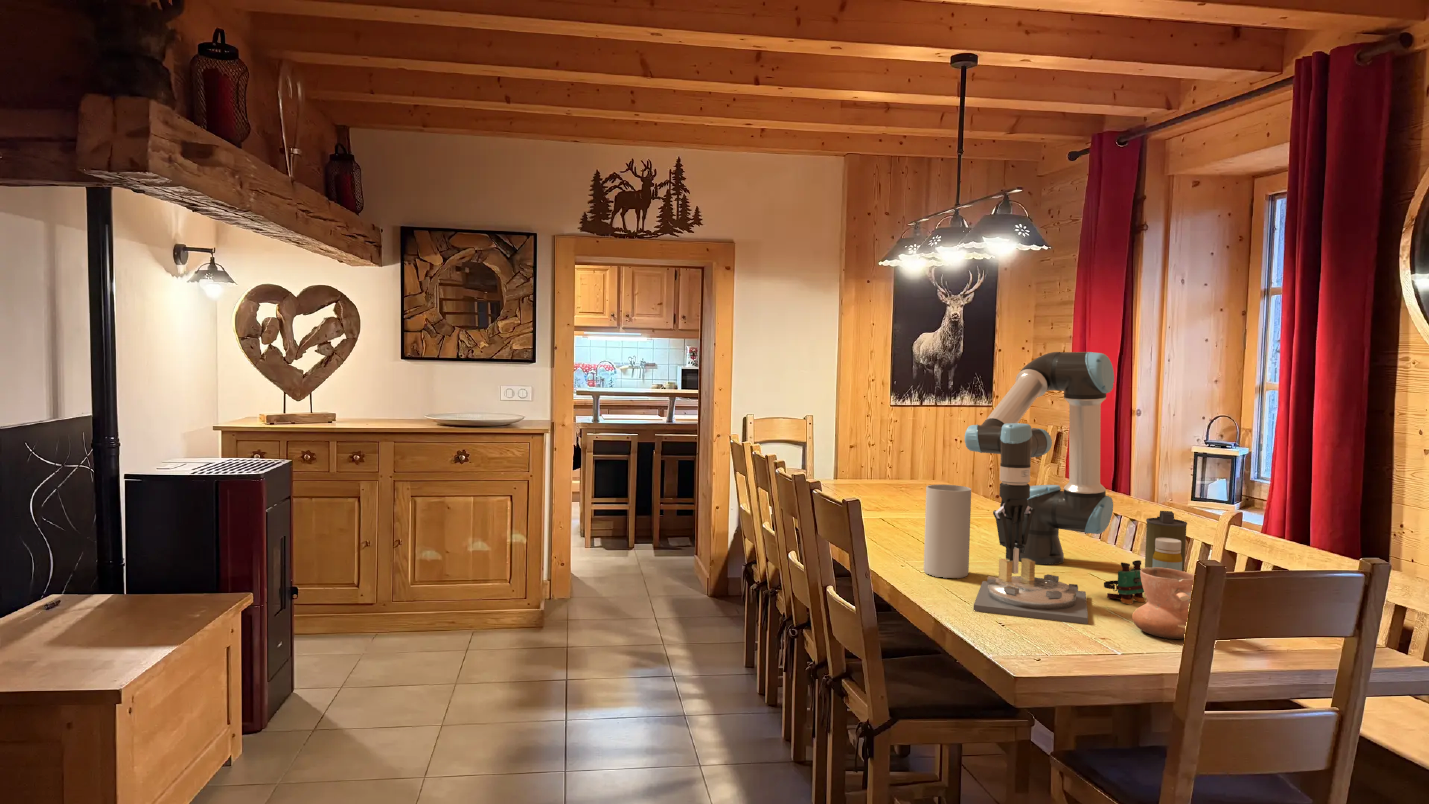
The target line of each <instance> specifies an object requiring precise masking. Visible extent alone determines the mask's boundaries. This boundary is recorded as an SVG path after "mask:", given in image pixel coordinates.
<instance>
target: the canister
mask: <svg viewBox="0 0 1429 804" xmlns="http://www.w3.org/2000/svg"><path fill="white" fill-rule="evenodd" d="M1145 521H1146V530H1145V532H1146V534H1145V535H1146V536H1145V554H1144V555H1145V556H1144V557H1145V559H1144V568H1146V567H1148V568H1152V563H1153V554H1154V552H1155V539H1156V538H1172V539H1177V540H1180V541H1181V556H1182V571H1184V572H1185V562H1186V561H1185V560H1186V540H1187V525H1188V522H1187V521H1184V520H1180V519H1176V518H1175V513H1174V512H1173V511H1170V510H1168V511H1167V510H1159V516H1157V517H1149V518H1148V517H1147V518H1146V520H1145Z"/></svg>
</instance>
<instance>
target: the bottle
mask: <svg viewBox="0 0 1429 804" xmlns="http://www.w3.org/2000/svg"><path fill="white" fill-rule="evenodd" d="M1152 567H1162V568H1169V569H1175V570H1180V571H1182V556H1181V541H1180V540H1177V539H1172V538H1156V539H1155V552H1154V554H1153V563H1152Z"/></svg>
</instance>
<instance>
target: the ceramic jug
mask: <svg viewBox="0 0 1429 804" xmlns="http://www.w3.org/2000/svg"><path fill="white" fill-rule="evenodd" d="M1140 569H1141V570H1140V575H1141V582H1142V586H1143V589H1144V592H1143V593H1144V595H1145V596H1144V597H1145V601H1146V603H1144V604H1142V605H1141V606H1138V607H1137V608H1136V609H1135V610H1133V613H1132V615H1131V618H1132V622H1133V624H1134V625H1135V626H1136V627H1137V628H1138V629H1139V630H1140V631H1143V632H1145V633H1146V634H1149V635H1152V636H1154V637H1158V638H1163V639H1164V638H1165V639H1171V640H1173V639H1174V640H1182V639H1183V638H1184V634H1185V626H1186V622H1187V618H1188V609H1190V608H1189V606H1190V604H1191V602H1190V600H1191V591H1192V585H1193V580H1194V575H1195V574H1194V573H1190V572H1188V571H1185V570H1184V571H1180V570H1175V569H1169V568H1162V567H1152V568H1148V567H1146V568H1145V567H1143V568H1140ZM1191 601H1192V600H1191ZM1184 639H1185V638H1184Z"/></svg>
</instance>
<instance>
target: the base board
mask: <svg viewBox="0 0 1429 804" xmlns="http://www.w3.org/2000/svg"><path fill="white" fill-rule="evenodd" d="M987 581H988V580H982V582H981V585H980V587H979V589H978V592H977V596H976V598H975V600H974V603H973V611H974V610H975V611H974V612H978V611H979V612H981V613H987V612H990V613H989V614H995V613H996V614H998V615H1006V616H1013V615H1014V616H1013V617H1022V618H1031V619H1040V620H1048V621H1049V620H1050V621H1055V620H1057V621H1058V622H1066V623H1073V624H1081V623H1083V624H1082V625H1088V622H1089V618H1088V617H1089V614H1088V604H1087V603H1088V602H1087V592H1086V591H1083V590H1078V592H1076V604H1075V605H1074V606H1073V607H1070V608H1066V609H1058V610H1040V609H1029V608H1022V607H1016V606H1011V605H1007V604H1004V603H1001V602H998V601H996V600H994V599H992V598H991V597H989V595H988V591H989V584H987Z"/></svg>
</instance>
